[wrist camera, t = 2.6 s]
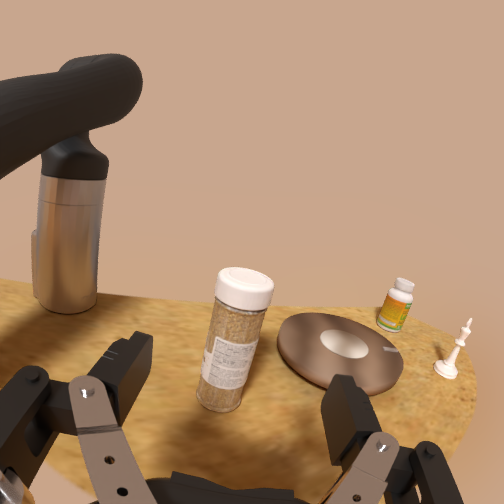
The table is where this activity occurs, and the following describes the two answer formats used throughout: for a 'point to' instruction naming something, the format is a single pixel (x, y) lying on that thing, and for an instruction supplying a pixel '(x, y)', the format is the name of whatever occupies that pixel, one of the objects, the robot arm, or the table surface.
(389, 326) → the supplement bottle
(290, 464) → the table surface
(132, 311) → the table surface
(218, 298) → the sprinkles bottle
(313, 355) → the turntable platter
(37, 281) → the robot arm
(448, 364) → the chess piece
